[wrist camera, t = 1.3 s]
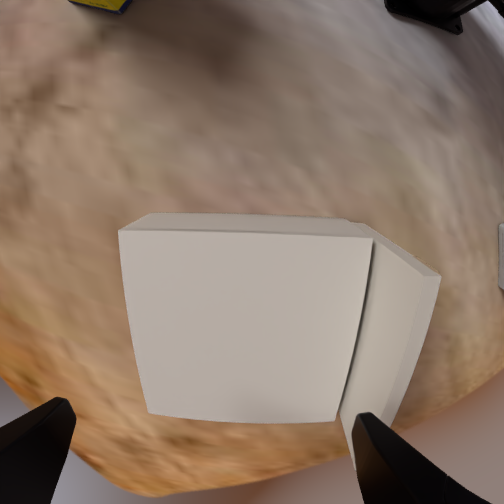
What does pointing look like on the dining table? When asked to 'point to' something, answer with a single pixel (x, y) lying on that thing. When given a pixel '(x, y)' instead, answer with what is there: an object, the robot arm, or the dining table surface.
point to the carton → (244, 313)
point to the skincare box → (501, 256)
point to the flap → (387, 332)
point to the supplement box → (105, 4)
